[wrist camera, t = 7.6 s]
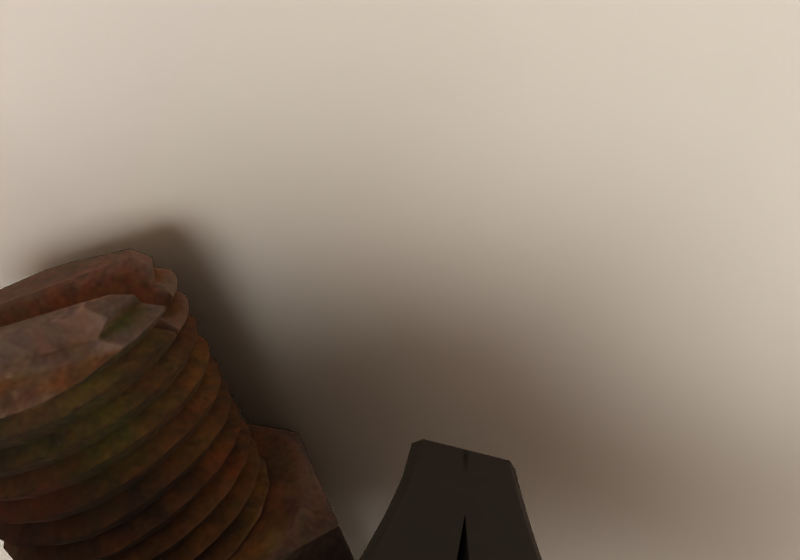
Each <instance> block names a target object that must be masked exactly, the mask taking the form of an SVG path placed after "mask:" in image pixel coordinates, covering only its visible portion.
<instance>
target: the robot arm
mask: <svg viewBox="0 0 800 560" xmlns="http://www.w3.org/2000/svg"><path fill="white" fill-rule="evenodd" d="M360 560H542V559H541V556H540V553H539V550H538V547H537V544H536V541H535V538H534V535H533V532H532V529H531V525H530V522H529V519H528V516H527V512H526V509H525V505H524V502H523V498H522V495H521V491H520V487H519V483H518V479H517V475H516V471H515V468H514V467H513V465H512V464H511V462H510V461H509V460H505V459H500V458H496V457H492V456H488V455H484V454H480V453H476V452H472V451H468V450H464V449H460V448H456V447H452V446H448V445H444V444H440V443H436V442H432V441H428V440H424V439H422V440H419V441H417V442H415V443H412V445H411V449H410V452H409V456H408V460H407V463H406V467H405V471H404V474H403V477H402V479H401V482H400V484H399V486H398V489H397V491H396V493H395V495H394V497H393V499H392V501H391V503H390V505H389V508H388V510H387V512H386V514H385V516H384V518H383V519H382V521H381V523H380V525H379V526H378V528H377V530H376V532H375V533H374V535H373V537H372V539H371V541H370V542H369V544H368V546H367V548H366V549H365V551H364V553H363V555H362V556H361V558H360Z"/></svg>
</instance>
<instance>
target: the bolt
mask: <svg viewBox="0 0 800 560" xmlns="http://www.w3.org/2000/svg"><path fill="white" fill-rule="evenodd" d="M188 312H189V301H188V299H187V298H186V296H185V294H184V293H182V292H180V291H179V290H177V276H176V275H175V273H174V271H172V270H170V269H168V268H158V267H154V263H153V260H152V257H150V256H147V255H144V254H142V253H139V252H136V251H133V250H131V249H127V250H122V251H118V252H114V253H110V254H105V255H101V256H96V257H91V258H87V259H82V260H77V261H74V262H70V263H67V264H64V265H60V266H57V267H54V268H51V269H47V270H45V271H42V272H40V273H38V274H35V275H33V276H31V277H28V278H26V279H24V280H21V281H19V282H17V283H14V284H12V285H10V286H7V287H5V288H3V289H0V539H1V540H3V541H4V546H3V548H4V549H5V550H6V551H7V553H8V554H9V555H10V556H11V557H12V558H13V560H354V558H353V556H352V554H351V551H350V549H349V547H348V545H347V542H346V540H345V538H344V536H343V534H342V531H341V529H340V527H339V525H338V522H337V520H336V518H335V515H334V513H333V511H332V509H331V507H330V504H329V502H328V500H327V498H326V495H325V493H324V491H323V489H322V486H321V484H320V482H319V480H318V478H317V475H316V473H315V471H314V469H313V466H312V464H311V462H310V460H309V457H308V455H307V453H306V451H305V448H304V446H303V444H302V442H301V440H300V437H299V435H298V433H294V432H291V431H288V430H282V429H277V428H271V427H265V426H259V425H252V424H246V423H245V420H244V419H243V418H241V417H240V409H239V408H238V406H237V404H236V403H235V401H234V399H233V398H232V396H231V395H230V390H229V385H228V384H227V383H226V382H225V381H224V380H223V379H222V378H221V375H220V370H219V364H218V363H217V362H216V361H215V360H214V359H213V358H212V357H211V356H210V352H209V346H208V341H207V340H206V339H204V338H203V337H202V336H201V335H200V334H199V333H198V331H197V318H195V317H194V316H192V315H191V314H190V313H188Z"/></svg>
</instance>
